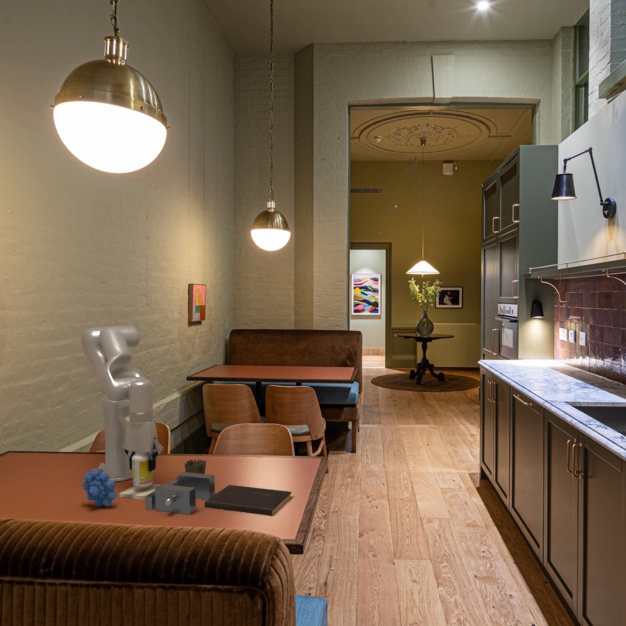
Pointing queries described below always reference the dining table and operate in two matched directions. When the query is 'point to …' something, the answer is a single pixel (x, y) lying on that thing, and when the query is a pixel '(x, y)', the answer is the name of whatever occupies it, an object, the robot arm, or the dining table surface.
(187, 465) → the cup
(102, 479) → the grapes
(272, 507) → the hardcover book
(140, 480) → the supplement bottle
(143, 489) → the birch board
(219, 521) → the dining table surface
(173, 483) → the vise
